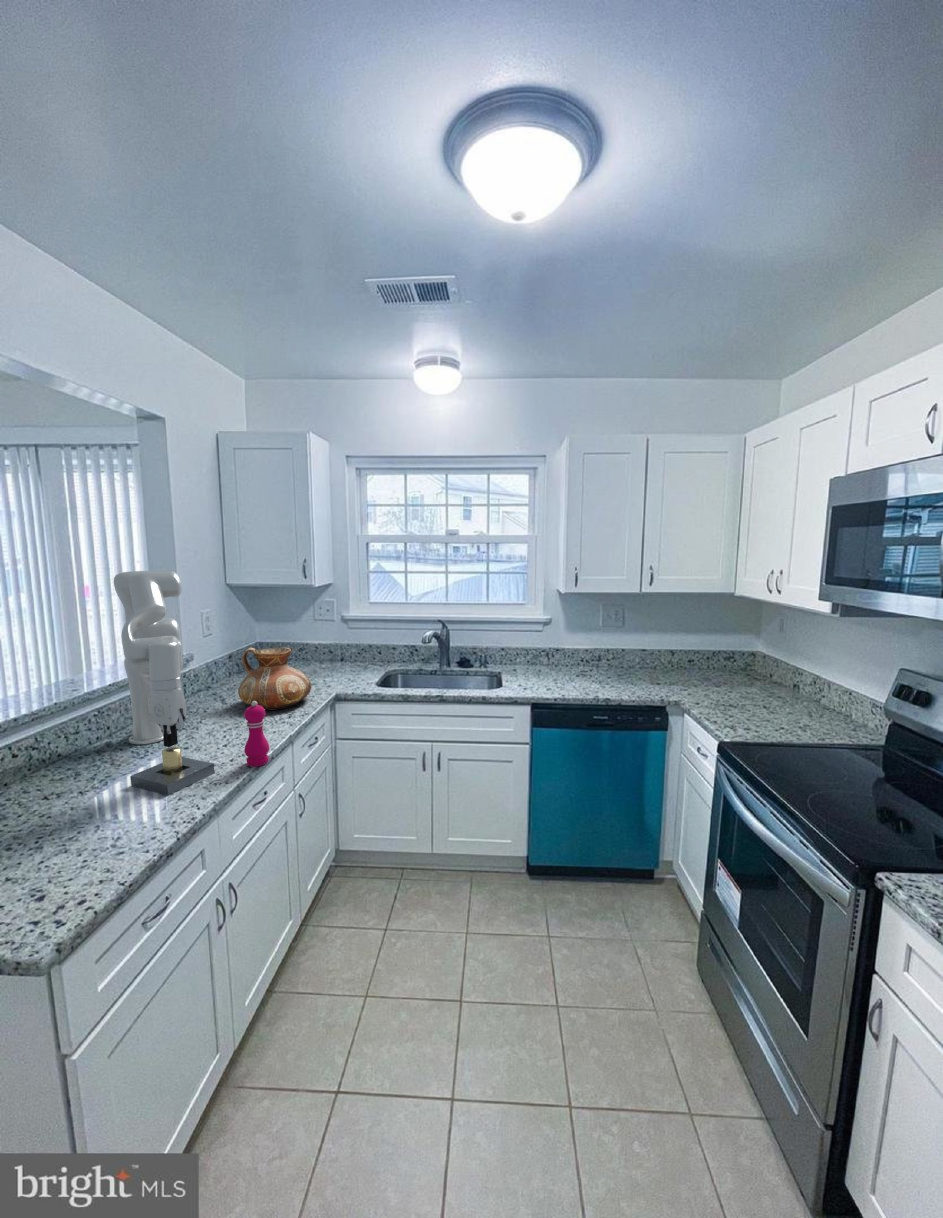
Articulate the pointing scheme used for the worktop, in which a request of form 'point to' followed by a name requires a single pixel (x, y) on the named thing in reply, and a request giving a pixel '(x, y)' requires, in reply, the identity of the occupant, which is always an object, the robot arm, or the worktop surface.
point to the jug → (273, 680)
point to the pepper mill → (256, 736)
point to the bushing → (172, 760)
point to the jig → (168, 784)
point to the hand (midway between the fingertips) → (170, 745)
